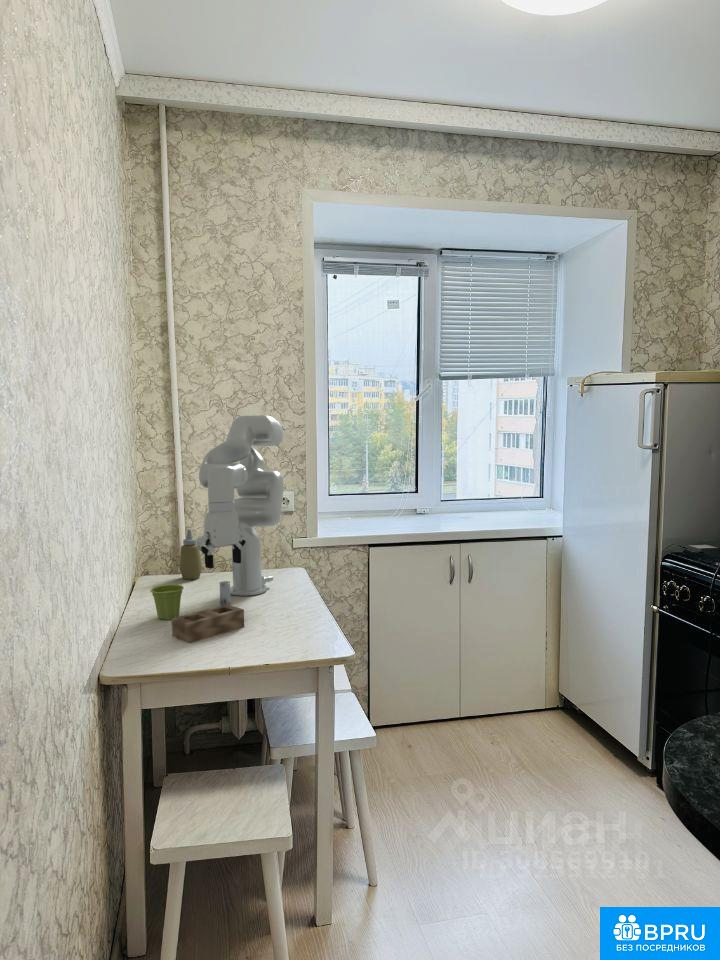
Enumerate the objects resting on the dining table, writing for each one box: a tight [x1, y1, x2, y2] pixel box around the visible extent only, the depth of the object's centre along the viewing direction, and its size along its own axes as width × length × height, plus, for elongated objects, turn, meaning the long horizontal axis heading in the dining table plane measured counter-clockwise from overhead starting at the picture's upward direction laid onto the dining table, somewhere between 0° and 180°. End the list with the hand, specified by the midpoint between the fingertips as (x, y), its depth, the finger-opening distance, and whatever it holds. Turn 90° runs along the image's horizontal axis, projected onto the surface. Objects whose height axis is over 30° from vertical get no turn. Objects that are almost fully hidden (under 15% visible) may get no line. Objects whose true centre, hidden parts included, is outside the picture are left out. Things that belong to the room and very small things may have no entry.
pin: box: [219, 580, 232, 606], centre depth 204 cm, size 3×3×10 cm
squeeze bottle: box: [179, 529, 203, 581], centre depth 250 cm, size 8×8×18 cm
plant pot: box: [150, 584, 184, 621], centre depth 203 cm, size 9×9×9 cm
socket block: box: [171, 604, 245, 644], centre depth 189 cm, size 18×8×5 cm, turn 137°
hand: (223, 565), depth 202 cm, fingers open, 9 cm apart
